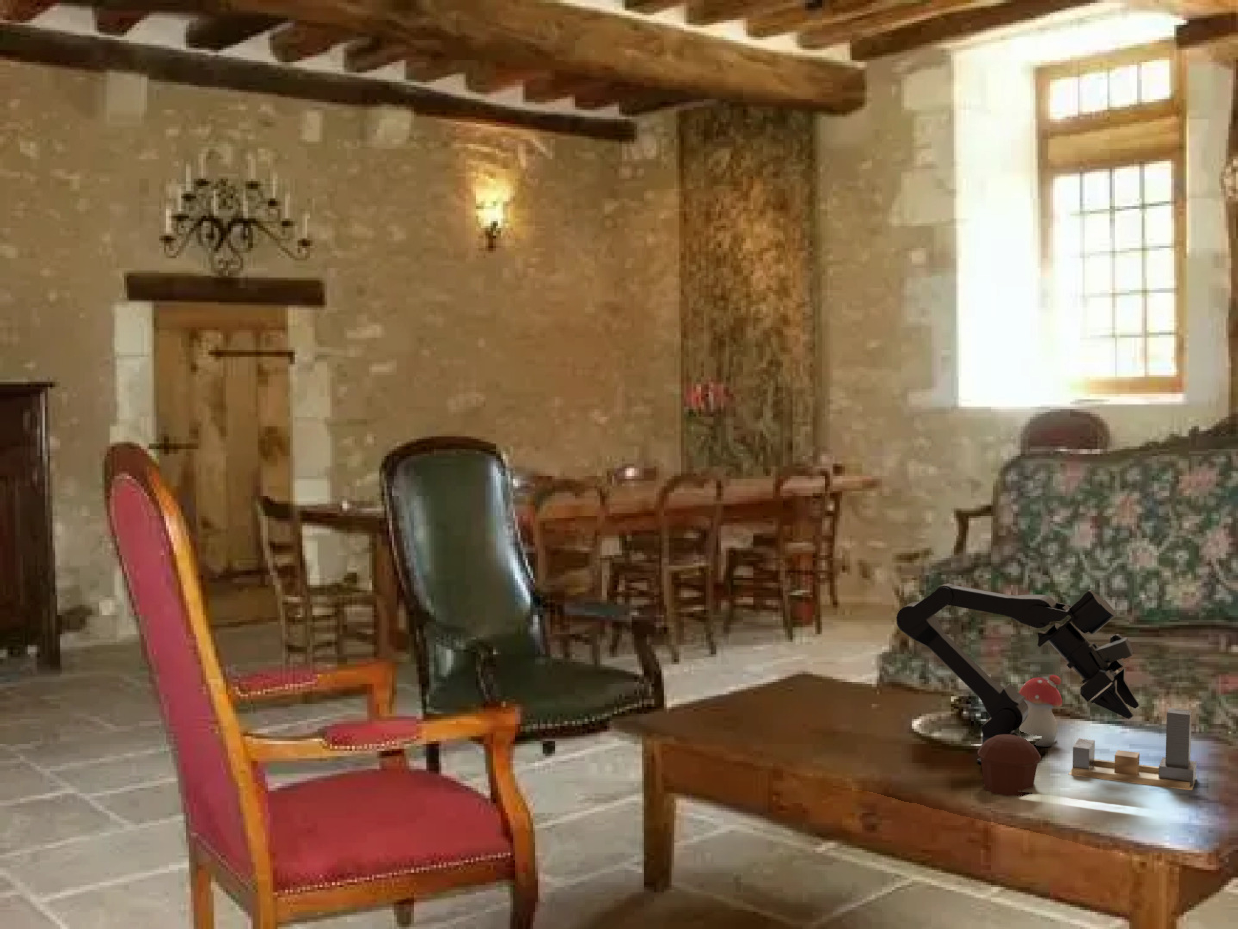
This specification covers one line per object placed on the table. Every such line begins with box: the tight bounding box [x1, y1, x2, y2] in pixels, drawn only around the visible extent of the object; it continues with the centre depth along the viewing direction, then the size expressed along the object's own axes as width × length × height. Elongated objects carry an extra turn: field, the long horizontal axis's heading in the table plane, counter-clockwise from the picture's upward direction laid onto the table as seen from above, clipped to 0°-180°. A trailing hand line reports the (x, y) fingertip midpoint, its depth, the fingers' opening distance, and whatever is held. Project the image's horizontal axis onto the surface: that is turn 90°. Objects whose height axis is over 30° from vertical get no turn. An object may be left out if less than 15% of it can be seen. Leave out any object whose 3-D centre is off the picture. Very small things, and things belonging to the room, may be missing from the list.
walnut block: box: [1114, 749, 1140, 776], centre depth 268 cm, size 4×4×4 cm
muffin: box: [977, 734, 1042, 797], centre depth 262 cm, size 12×11×10 cm
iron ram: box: [1158, 707, 1197, 787], centre depth 263 cm, size 6×7×13 cm
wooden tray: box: [1068, 758, 1198, 791], centre depth 267 cm, size 22×10×2 cm, turn 63°
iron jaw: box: [1072, 738, 1096, 770], centre depth 271 cm, size 3×7×5 cm, turn 153°
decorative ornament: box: [1018, 674, 1063, 747], centre depth 294 cm, size 9×6×15 cm
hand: (1134, 712), depth 267 cm, fingers open, 9 cm apart
